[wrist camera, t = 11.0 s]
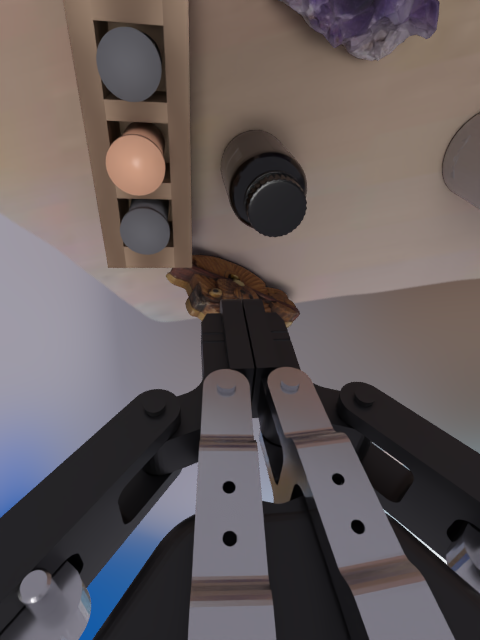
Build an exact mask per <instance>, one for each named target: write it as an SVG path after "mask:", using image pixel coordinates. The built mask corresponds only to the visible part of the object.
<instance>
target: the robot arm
mask: <svg viewBox="0 0 480 640" xmlns="http://www.w3.org/2000/svg"><path fill="white" fill-rule="evenodd" d="M443 178H444V181H445V183H446V185H447V187H448V188H449V189H450V190H451V191H452V192H454V193H455V194H457V195H458V196H460V197H462V198H463V199H465V200H466V201H468V202H469V203H471V204H472V205H474V206H475V207H477V208H478V209H480V113H479V114H478V115H476V116H474V117H473V118H472V119H470V120H469V121H468V122H467V123H466V124H465V125H464V126H463V127H462V128H461V129H460V130H459V131H458V132H457V134H456V135H455V137H454V138H453V140H452V141H451V143H450V145H449V147H448V149H447V151H446V154H445V158H444V161H443ZM201 357H202V377H203V380H202V382H201V383H200V385H199V386H198V387H197V388H196V389H194V390H193V391H191V392H189V393H186V394H183V395H180V396H177V397H176V396H175V395H174V394H173V393H171V392H169V391H166V390H162V389H154V390H149V391H146V392H143V393H142V394H140V395H138V396H137V397H136V398H135V399H134V400H133V401H131V402H130V403H129V404H128V405H127V406H126V407H125V408H124V409H123V410H121V411H120V412H119V413H118V414H117V415H116V416H115V417H113V418H112V419H111V420H110V421H109V422H108V423H107V424H106V425H104V426H103V427H102V428H101V429H100V430H99V431H98V432H97V433H96V434H94V435H93V436H92V437H91V438H90V439H89V440H88V441H86V442H85V443H84V444H83V445H82V446H81V447H80V448H79V449H78V450H76V451H75V452H74V453H73V454H72V455H71V456H70V457H69V458H67V459H66V460H65V461H64V462H63V463H62V464H61V465H59V466H58V467H57V468H56V469H55V470H54V471H53V472H52V473H50V474H49V475H48V476H47V477H46V478H45V479H44V480H43V481H42V482H40V483H39V484H38V485H37V486H36V487H35V488H34V489H33V490H31V491H30V492H29V493H28V494H27V495H26V496H25V497H23V498H22V499H21V500H20V501H19V502H18V503H17V504H16V505H14V506H13V507H12V508H11V509H10V510H9V511H8V512H7V513H5V514H4V515H3V516H2V517H1V518H0V640H78V639H79V638H80V636H81V634H82V633H83V631H84V629H85V627H86V625H87V622H88V620H89V617H90V611H91V600H90V596H89V593H88V591H87V589H86V588H87V587H88V585H89V584H90V583H91V582H92V580H93V579H94V578H95V577H96V576H97V574H98V573H99V572H100V571H101V569H102V568H103V567H104V566H105V565H106V563H107V562H108V561H109V560H110V558H111V557H112V556H113V555H114V554H115V552H116V551H117V550H118V549H119V547H120V546H121V545H122V544H123V543H124V541H125V540H126V539H127V537H128V536H129V535H130V534H131V533H132V531H133V530H134V529H135V528H136V527H137V525H138V524H139V523H140V521H141V520H142V519H143V518H144V517H145V515H146V514H147V513H148V512H149V511H150V509H151V508H152V507H153V506H154V504H155V503H156V502H157V501H158V500H159V498H160V497H161V496H162V495H163V494H164V492H165V491H166V490H167V489H168V487H169V486H170V485H171V484H172V482H173V481H174V480H175V479H176V478H177V476H178V475H179V474H180V472H181V470H182V468H184V467H187V466H189V465H192V464H194V463H197V462H198V477H197V494H196V513H195V515H192V516H191V517H189V518H187V519H185V520H184V521H182V522H181V523H179V524H178V525H177V526H175V527H174V528H173V529H172V530H171V531H170V532H169V533H168V534H167V535H166V536H165V537H164V538H163V540H162V541H161V542H160V543H159V545H158V546H157V547H156V549H155V550H154V552H153V553H152V555H151V556H150V557H149V559H148V560H147V562H146V563H145V565H144V566H143V567H142V569H141V570H140V572H139V573H138V575H137V576H136V578H135V579H134V580H133V582H132V584H131V585H130V586H129V588H128V589H127V591H126V592H125V593H124V595H123V597H122V598H121V599H120V601H119V602H118V604H117V605H116V606H115V608H114V609H113V611H112V612H111V614H110V615H109V617H108V618H107V619H106V621H105V622H104V624H103V625H102V627H101V628H100V629H99V631H98V632H97V634H96V635H95V637H94V638H93V640H480V454H479V453H478V452H476V451H474V450H473V449H471V448H470V447H468V446H466V445H465V444H463V443H462V442H460V441H459V440H457V439H456V438H454V437H452V436H451V435H449V434H448V433H446V432H445V431H443V430H441V429H440V428H438V427H437V426H435V425H433V424H432V423H430V422H429V421H427V420H426V419H424V418H422V417H421V416H419V415H417V414H416V413H415V412H413V411H412V410H410V409H408V408H407V407H405V406H404V405H402V404H400V403H399V402H397V401H396V400H394V399H393V398H391V397H389V396H388V395H386V394H385V393H383V392H381V391H380V390H378V389H377V388H375V387H374V386H372V385H369V384H366V383H363V382H351V383H348V384H346V385H345V386H343V388H342V389H341V391H338V390H333V389H329V388H324V387H320V386H318V385H315V384H314V383H312V381H311V379H310V378H309V377H308V375H306V373H304V372H303V371H301V370H300V367H299V364H298V361H297V358H296V355H295V352H294V349H293V346H292V343H291V341H290V336H289V333H288V331H287V327H286V324H285V321H284V320H283V319H282V318H281V317H280V316H279V315H278V314H277V313H276V312H265V308H264V305H263V301H262V299H221V300H220V313H207V314H206V316H205V317H204V319H203V321H202V322H201ZM252 418H259V422H260V431H259V441H260V444H261V448H262V452H263V455H264V460H265V463H266V467H267V471H268V475H269V479H270V482H271V486H272V490H273V496H274V503H270V502H265V501H262V495H261V483H260V471H259V459H258V448H257V442H256V440H254V436H253V424H252ZM372 442H374V443H375V444H376V445H378V446H379V447H380V448H382V449H383V450H385V451H386V452H387V453H389V454H390V455H391V456H393V457H394V458H396V459H397V460H398V461H400V462H401V463H402V464H404V465H405V466H406V467H408V468H409V469H410V470H408V469H407V468H405V467H404V466H402V465H401V464H400V463H398V462H397V461H396V460H394V459H393V458H391V457H390V456H389V455H387V454H386V453H385V452H383V451H382V450H380V449H379V448H378V447H376V446H375V445H374V444H372ZM383 509H384V510H386V511H387V512H388V513H389V514H390V515H391V516H393V517H394V518H395V519H396V520H398V521H399V522H400V523H401V524H402V525H404V526H405V527H406V528H407V529H409V530H410V531H411V532H412V533H413V534H415V535H416V536H417V537H418V538H420V539H421V540H422V541H423V542H425V543H426V544H427V545H428V546H429V547H431V548H432V549H433V550H434V551H435V552H437V553H438V554H439V555H440V556H442V557H443V558H444V559H445V560H446V561H447V564H445V563H444V562H443V561H442V560H441V559H440V558H439V557H437V556H436V555H435V554H434V553H433V552H431V551H430V550H429V549H428V548H427V547H426V546H425V545H424V544H422V543H421V542H420V541H419V540H418V539H417V538H415V537H414V536H413V535H412V534H411V533H410V532H409V531H407V530H406V529H405V528H404V527H403V526H401V525H400V524H399V523H398V522H397V521H396V520H394V519H393V518H392V517H390V516H389V515H388V514H386V513H385V512H384V510H383Z"/></svg>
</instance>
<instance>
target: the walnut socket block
mask: <svg viewBox="0 0 480 640" xmlns="http://www.w3.org/2000/svg"><path fill="white" fill-rule="evenodd" d="M63 3H64V9H65V15H66V21H67V27H68V33H69V39H70V45H71V50H72V56H73V62H74V68H75V74H76V80H77V86H78V92H79V98H80V104H81V110H82V115H83V121H84V127H85V133H86V139H87V145H88V151H89V157H90V163H91V169H92V175H93V181H94V186H95V192H96V198H97V204H98V210H99V216H100V222H101V228H102V234H103V240H104V246H105V251H106V257H107V263H108V268H192V222H191V153H190V85H189V17H188V0H63ZM117 27H131V28H134V29H137V30H139V31H141V32H143V33H145V34H147V35H149V36H150V37H151V38H152V39H153V40H154V41H155V43H156V44H157V46H158V48H159V50H160V53H161V58H162V66H161V67H162V73H161V79H160V83H159V85H158V87H157V89H156V91H155V92H154V93H153V94H152V95H151V96H150V97H149V98H147V99H145V100H143V101H140V102H128V101H125V100H122V99H120V98H118V97H117V96H115V95H114V94H113V93H111V92H110V91H109V90H108V88H107V87H106V86H105V84H104V83H103V81H102V79H101V77H100V75H99V72H98V68H97V62H96V54H97V49H98V45H99V43H100V41H101V39H102V38H103V36H104V35H105V34H106V33H107V32H109V31H110V30H112V29H114V28H117ZM132 122H148V123H152V124H154V125H155V126H157V127H158V129H159V130H160V131H161V133H162V135H163V137H164V140H165V150H164V156H163V157H164V160H165V176H164V179H163V181H162V183H161V185H160V186H159V187H158V188H157V189H156V190H155V191H154V192H152V193H150V194H147V195H141V196H138V195H131V194H128V193H126V192H124V191H122V190H121V189H119V188H118V187H117V186H116V185H115V184H114V183H113V182H112V180H111V178H110V177H109V175H108V172H107V169H106V155H107V152H108V150H109V148H110V146H111V145H112V143H113V142H114V141H115V140H116V139H117V138H119V137H121V136H122V134H123V133H124V131H125V129H126V128H127V126H128V125H129V124H131V123H132ZM132 199H168V200H169V211H168V223H169V227H170V238H169V241H168V244H167V245H166V247H165V248H164V249H163V250H161V251H160V252H158V253H155V254H150V255H144V254H139V253H136V252H134V251H132V250H131V249H130V248H128V247H127V246H126V245H125V243H124V242H123V240H122V238H121V235H120V225H121V222H122V219H123V217H124V215H125V214H126V213H127V212H128V211H129V208H130V205H131V201H132Z"/></svg>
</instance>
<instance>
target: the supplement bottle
mask: <svg viewBox="0 0 480 640" xmlns="http://www.w3.org/2000/svg"><path fill="white" fill-rule="evenodd" d="M221 172H222V177H223V181H224V185H225V188H226V191H227V195H228V198H229V201H230V204H231V207H232V209H233V211H234V213H235V215H236V216H237V217H238V219H239V220H240V221H242V222H243V223H244V224H246V225H247V226H249V227H251V228H254V229H255V230H256V231H258V232H259V233H260V234H263V235H264V236H269V237H272V236H273V237H277V236H283V235H287V234H288V233H290V232H292V231H293V230H294V229H296V228H297V226H298V225H299V224H300V223H301V221H302V220H303V217H304V215H305V211H306V209H307V207H306V204H307V201H306V194H307V181H306V176H305V173H304V171H303V169H302V167H301V166H300V164H299V163H298V162H297V160H296V159H295V158H294V157H293V156H292V155H291V154H290V152H289V151H288V150H287V149H286V148H285V147H284V146H283V145H282V143H281V142H280V141H279V140H278V139H277V138H276V137H274V136H273V135H271V134H269V133H267V132H264V131H260V130H252V131H247V132H244V133H242V134H240V135H238V136H237V137H235V138H234V139H233V140H232V141H231V142H230V143H229V144H228V146H227V147H226V149H225V151H224V154H223V157H222V161H221Z"/></svg>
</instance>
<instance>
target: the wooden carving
mask: <svg viewBox="0 0 480 640" xmlns="http://www.w3.org/2000/svg"><path fill="white" fill-rule="evenodd" d="M166 277H167V279H168V280H169V281H170V282H171V283H172V284H174V285H176V286H179V287H182V288H184V289H185V290H186V292H187V294H188V296H189V298H188V299H187V301H186V303H185V304H186V308H187V311H188V313H189V314H190V315H191V316H194V317H198V318H199V319H200V320H202V321H203V319H204V317H205V316H206V314H207V313H220V300H221V299H262V301H263V305H264V308H265V312H276V313H277V314H278V315H279V316H280V317H281V318H282V319H283V320H284V321H285V324H286V327H289V326H290V325H291V324H292V323H293V321H294V320H295V319H296V318H297V317H298V316H299V314H300V313H299V311H298V309H297V308H296V306H295V304H294V303H293V302H292V301H290V300H289V299H288V297H287V295H286V293H285V292H283V291H281V290H279V289H274V288H269V287H266V285H265V283H264V281H262V280H261V279H260V278H259V277H257V276H256V275H255V274H253V273H251V272H250V271H248V270H246V269H245V268H243V267H241V266H238V265H236V264H234V263H231V262H228V261H226V260H224V259H220V258H216V257H213V256H205V255H192V268H172V270H171V272H169V273H168V274H167V275H166Z"/></svg>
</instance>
